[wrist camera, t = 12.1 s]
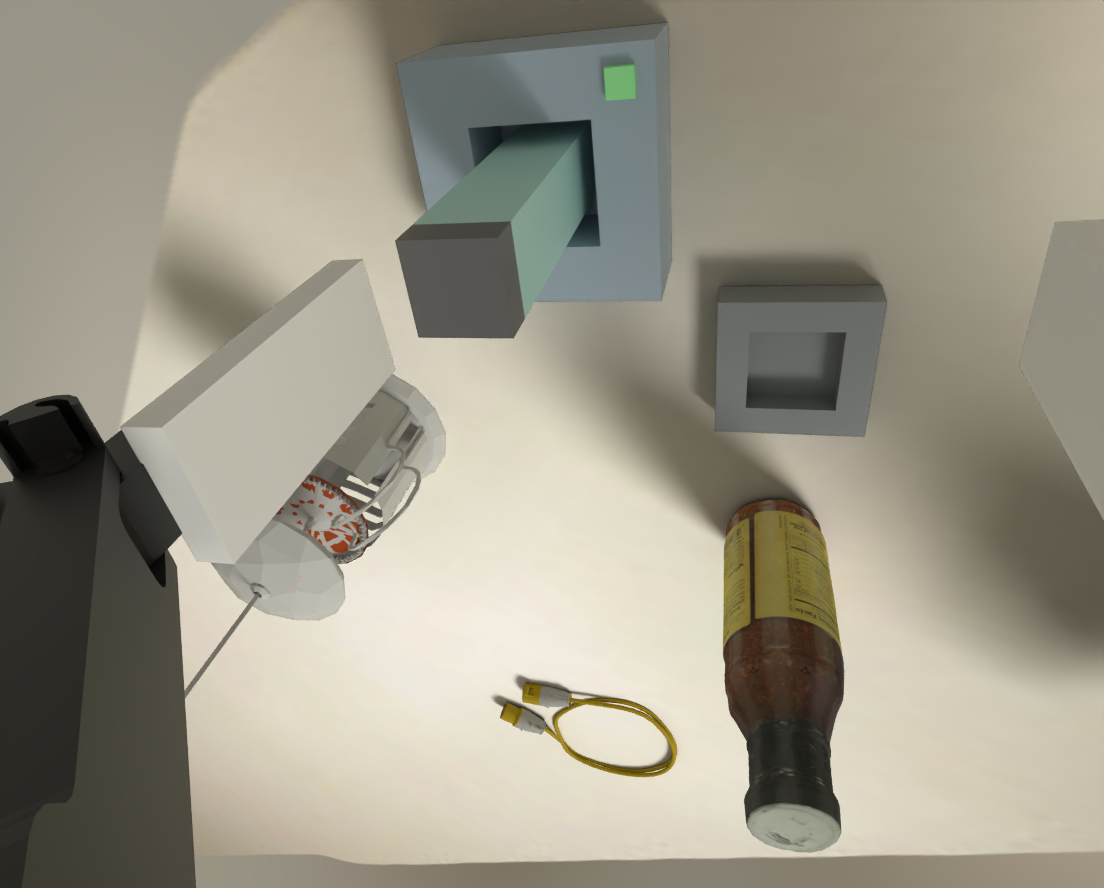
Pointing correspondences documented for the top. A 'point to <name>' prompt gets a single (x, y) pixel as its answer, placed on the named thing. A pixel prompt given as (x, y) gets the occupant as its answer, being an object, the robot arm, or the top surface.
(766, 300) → the holster
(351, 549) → the french press
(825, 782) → the sauce bottle
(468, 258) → the plug
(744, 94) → the top surface
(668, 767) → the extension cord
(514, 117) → the port
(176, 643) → the robot arm
